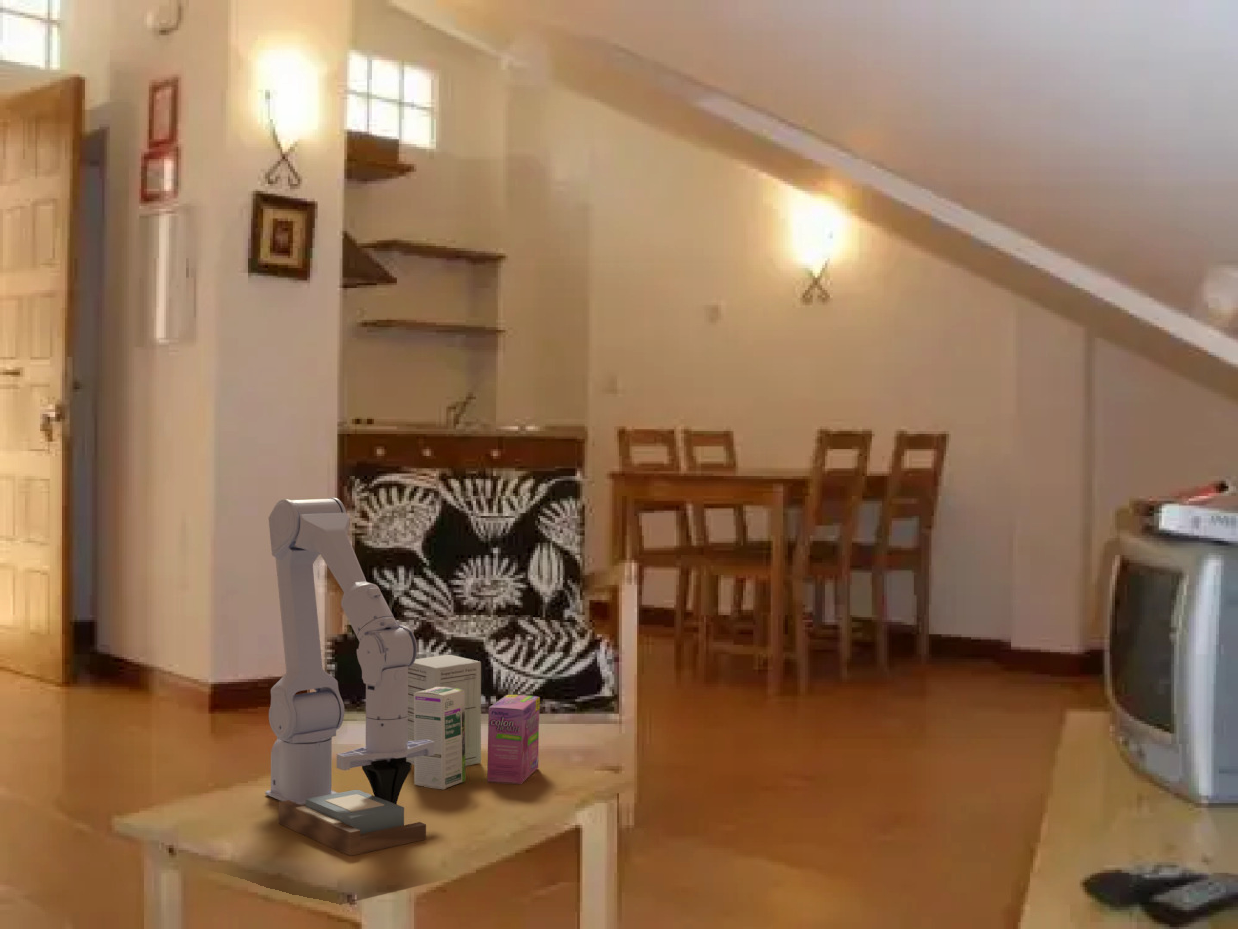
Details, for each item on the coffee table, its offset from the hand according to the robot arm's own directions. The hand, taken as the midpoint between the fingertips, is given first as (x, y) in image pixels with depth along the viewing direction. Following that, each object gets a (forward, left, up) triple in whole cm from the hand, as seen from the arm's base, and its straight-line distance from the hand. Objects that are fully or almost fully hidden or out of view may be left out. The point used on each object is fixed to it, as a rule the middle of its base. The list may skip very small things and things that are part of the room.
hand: (386, 814), depth 197 cm
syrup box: (-14, +18, -2) cm, 23 cm away
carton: (+1, -6, -2) cm, 6 cm away
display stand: (0, -6, -1) cm, 6 cm away
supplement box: (-25, +26, -2) cm, 36 cm away
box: (-11, +30, -2) cm, 32 cm away
